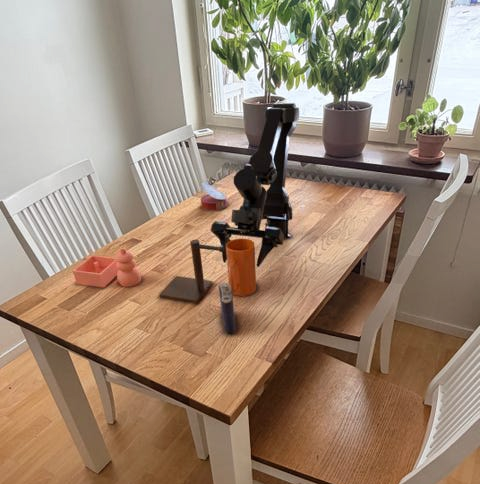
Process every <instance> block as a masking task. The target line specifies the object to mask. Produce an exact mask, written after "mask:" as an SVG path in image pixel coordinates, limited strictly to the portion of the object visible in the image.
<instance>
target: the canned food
mask: <svg viewBox="0 0 480 484" xmlns="http://www.w3.org/2000/svg"><path fill="white" fill-rule="evenodd" d="M201 186H202V190H203V191H204V192H205V195H202V196H201V197H200V205H201V206H200V207H201V209H203V210H205V211H211V212H212V211H219V210H223V209H225V208H226V207H227V206H228V200H227V195H226V194H225V193H223V191H221V190H218V189H217V188H215V187H214V186H212V185H210V184H209V183H207V182H205V181H204V182H202V184H201Z"/></svg>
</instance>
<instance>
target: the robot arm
mask: <svg viewBox="0 0 480 484" xmlns="http://www.w3.org/2000/svg"><path fill="white" fill-rule="evenodd" d="M299 118H300V108H299V107H297V105H296V103H295V102H293V103H292V102H291V103H290V102H273V104H272V106H271V107H266V110H265V121H264V125H263V128H262V132H261V135H260V139H259V143H258V147H257V150H256V152H254V154H252V155H251V156H250V158H249V160H248V163H247V164H244V165H243V168H242V169H240V170H238V171H237V172H236V173H235V175H234V177H233V185H234V186H235V189H236V190H237V191H238V193H239V195H240V196H241V197H242V198H243V199H242V200H243V201H242V204H241V205H240V207H239V209H232V210H231V219H230V220H231V224H232V223H234V225H235V227H232V226H230V224H229V223H228V222H226V221H217V220H216V221H213V222H212V223H211V226H210V232H211V233H212V234H213V235H214V236H215V237H216V238H217V239H218V240H219V242H220V246H223V247H224V251H223V252H221V255H222V256H221V257H222V262H223V263H225V264H227V254H226V244H227V243H228V242H229V241H231V240H232V239H230V238H231V237H232V236H240V237H249V238H257V239H258V238H259V239H261V246H260V249H259V253H258V256H257V260H256V268H259V267H260V266H261V265H262V263H263V262H264V260H265V259H266V258H267V256H268V255H269V254H270V253H271V252H272V250H274V249H275V248H278V247H279V246H282V245H284V241H285V239H289V238H291V235H290V233H289V221H292V220H293V207H292V205H291V203H290V196H289V194H288V192H287V190H286V181H287V180H286V179H287V168H288V159H289V158H288V157H289V148H290V137H291V136H292V134H293V133H294V131H295V130H296V128H297V122H298V121H299ZM264 186H269V187H268V188H267V189H266V188H265V187H264ZM264 220H266V222H265V225H264V226H265V228H264V230H261V229H260V228H261V225H262V224H261V223H262V221H264Z"/></svg>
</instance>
